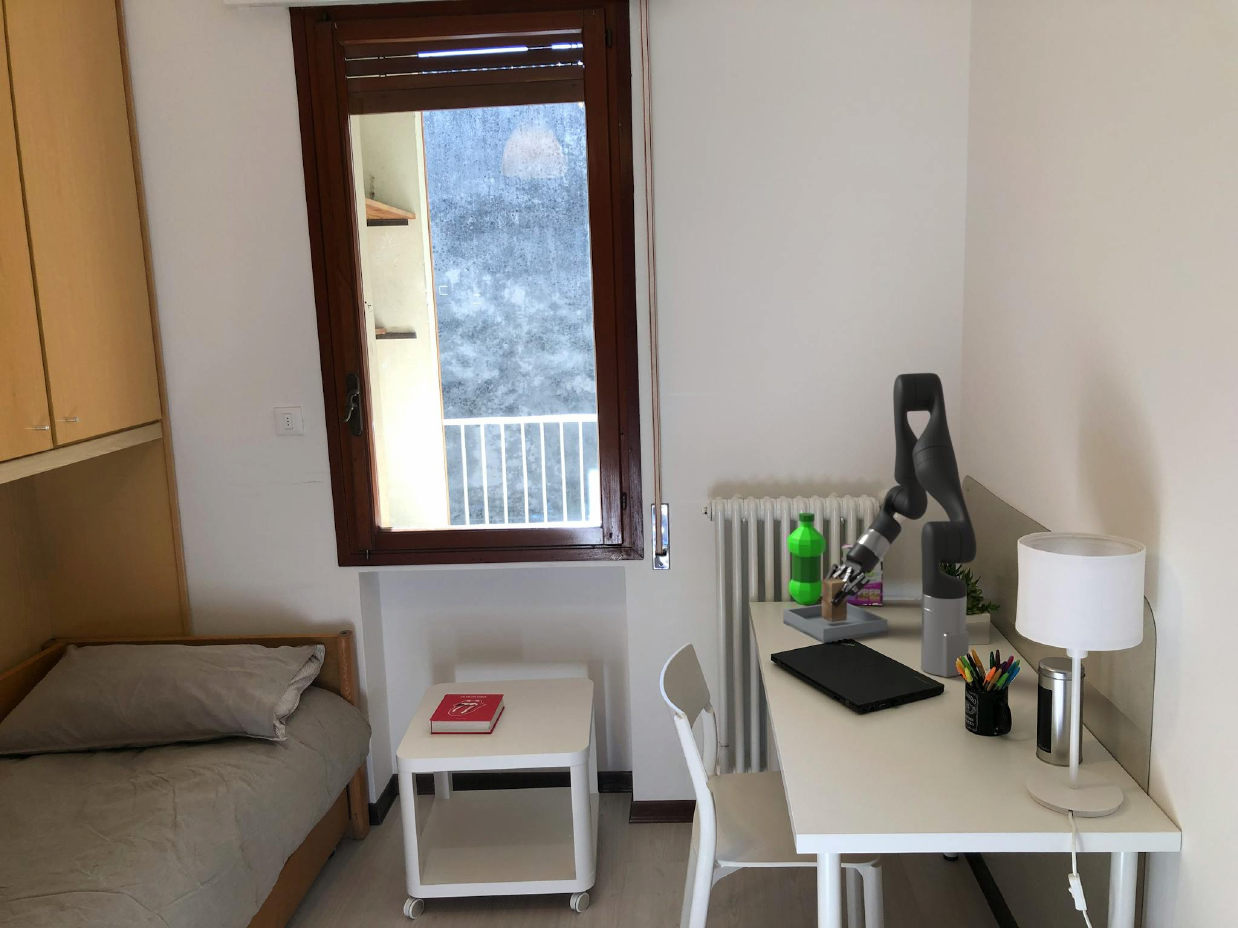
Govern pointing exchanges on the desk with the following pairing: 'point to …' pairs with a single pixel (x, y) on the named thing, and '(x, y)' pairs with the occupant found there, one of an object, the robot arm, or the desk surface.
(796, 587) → the plastic bottle
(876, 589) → the candy bar box
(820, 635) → the box
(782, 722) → the desk surface
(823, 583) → the walnut block
